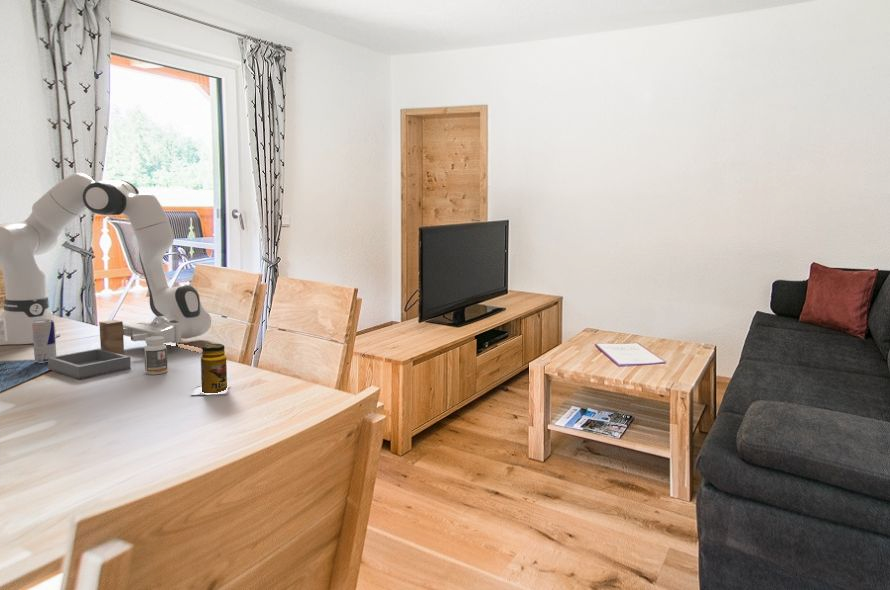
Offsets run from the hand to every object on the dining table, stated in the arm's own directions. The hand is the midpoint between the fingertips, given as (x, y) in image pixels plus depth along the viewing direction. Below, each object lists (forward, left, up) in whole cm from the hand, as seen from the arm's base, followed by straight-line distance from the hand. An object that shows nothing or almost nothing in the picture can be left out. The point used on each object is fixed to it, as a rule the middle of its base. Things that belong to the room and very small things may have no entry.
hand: (123, 336), depth 183 cm
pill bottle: (+25, -6, -6) cm, 26 cm away
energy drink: (-10, -18, -6) cm, 21 cm away
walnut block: (0, -4, -6) cm, 7 cm away
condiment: (+51, -8, -6) cm, 52 cm away
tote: (+8, -14, -6) cm, 18 cm away
